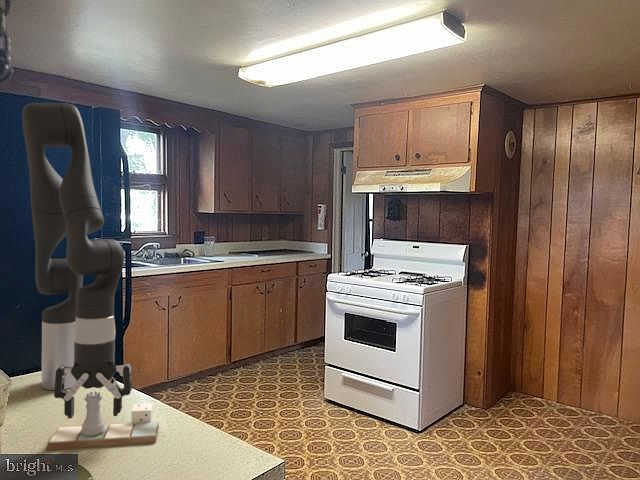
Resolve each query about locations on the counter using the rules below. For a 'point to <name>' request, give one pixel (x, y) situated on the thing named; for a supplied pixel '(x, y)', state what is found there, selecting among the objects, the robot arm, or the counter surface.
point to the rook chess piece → (93, 416)
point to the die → (142, 413)
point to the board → (105, 436)
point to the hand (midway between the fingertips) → (93, 415)
